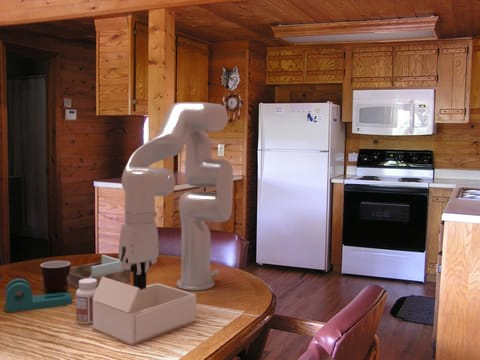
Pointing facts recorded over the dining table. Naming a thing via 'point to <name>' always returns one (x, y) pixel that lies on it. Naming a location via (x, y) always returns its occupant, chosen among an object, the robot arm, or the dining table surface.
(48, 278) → the coffee mug
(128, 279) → the open square frame
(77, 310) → the pill bottle
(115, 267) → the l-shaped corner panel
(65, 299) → the bracket
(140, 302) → the carton
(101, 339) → the dining table surface
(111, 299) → the end flap
